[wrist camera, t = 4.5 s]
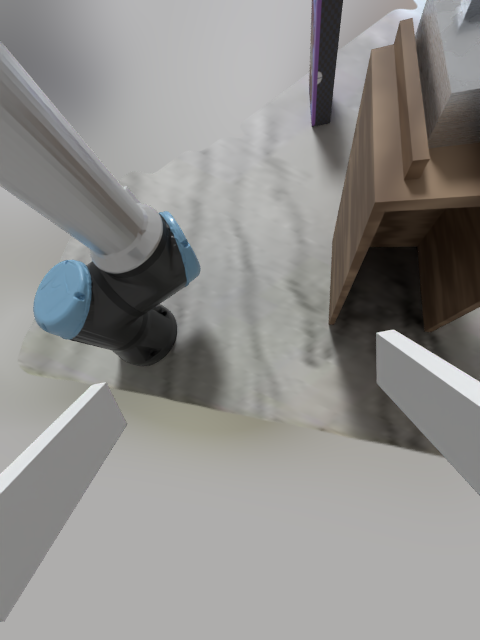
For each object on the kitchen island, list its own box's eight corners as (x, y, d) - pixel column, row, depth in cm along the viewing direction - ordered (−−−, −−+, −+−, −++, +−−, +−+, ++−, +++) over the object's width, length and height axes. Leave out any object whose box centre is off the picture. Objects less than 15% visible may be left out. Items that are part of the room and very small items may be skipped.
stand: (328, 324, 44) (381, 184, 16) (332, 240, 50) (376, 27, 22) (431, 332, 40) (777, 151, 11) (422, 238, 46) (631, -40, 17)
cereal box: (309, 89, 70) (313, -53, 48) (325, 85, 68) (337, -64, 46) (311, 126, 64) (318, -16, 42) (329, 122, 63) (345, -27, 41)
